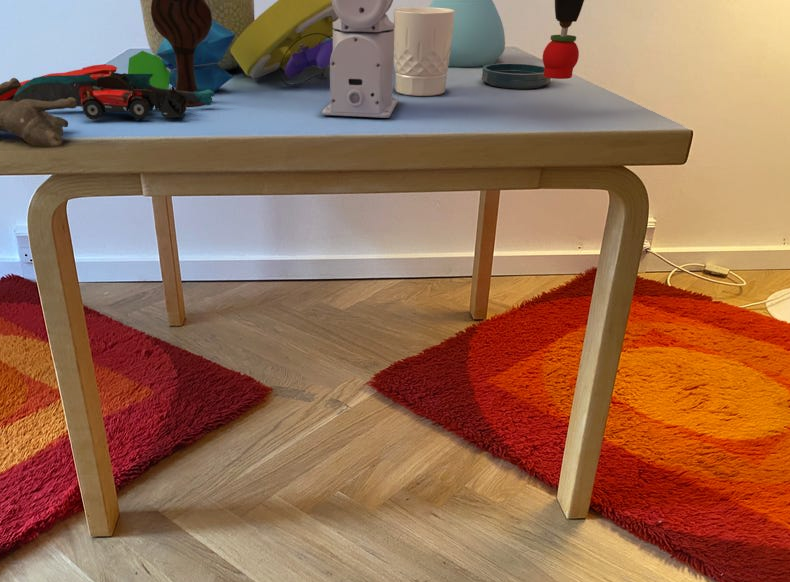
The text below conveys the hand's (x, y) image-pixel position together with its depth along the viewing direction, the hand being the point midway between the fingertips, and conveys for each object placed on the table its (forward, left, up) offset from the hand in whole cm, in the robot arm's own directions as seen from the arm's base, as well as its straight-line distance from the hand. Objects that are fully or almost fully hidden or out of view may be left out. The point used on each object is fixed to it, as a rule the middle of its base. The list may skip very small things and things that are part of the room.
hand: (565, 20), depth 78 cm
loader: (-11, +48, -10) cm, 50 cm away
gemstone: (0, +51, -8) cm, 51 cm away
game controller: (+14, +31, -10) cm, 36 cm away
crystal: (+5, +46, -10) cm, 47 cm away
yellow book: (+18, +37, -2) cm, 41 cm away
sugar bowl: (+39, +13, -10) cm, 42 cm away
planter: (+22, +51, -10) cm, 57 cm away
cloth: (0, +63, -8) cm, 63 cm away
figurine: (-2, +45, -10) cm, 46 cm away
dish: (+20, +4, -10) cm, 23 cm away
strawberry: (0, 0, -6) cm, 6 cm away
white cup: (+11, +17, -10) cm, 23 cm away
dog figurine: (-19, +54, -7) cm, 58 cm away
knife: (-10, +51, -6) cm, 53 cm away
